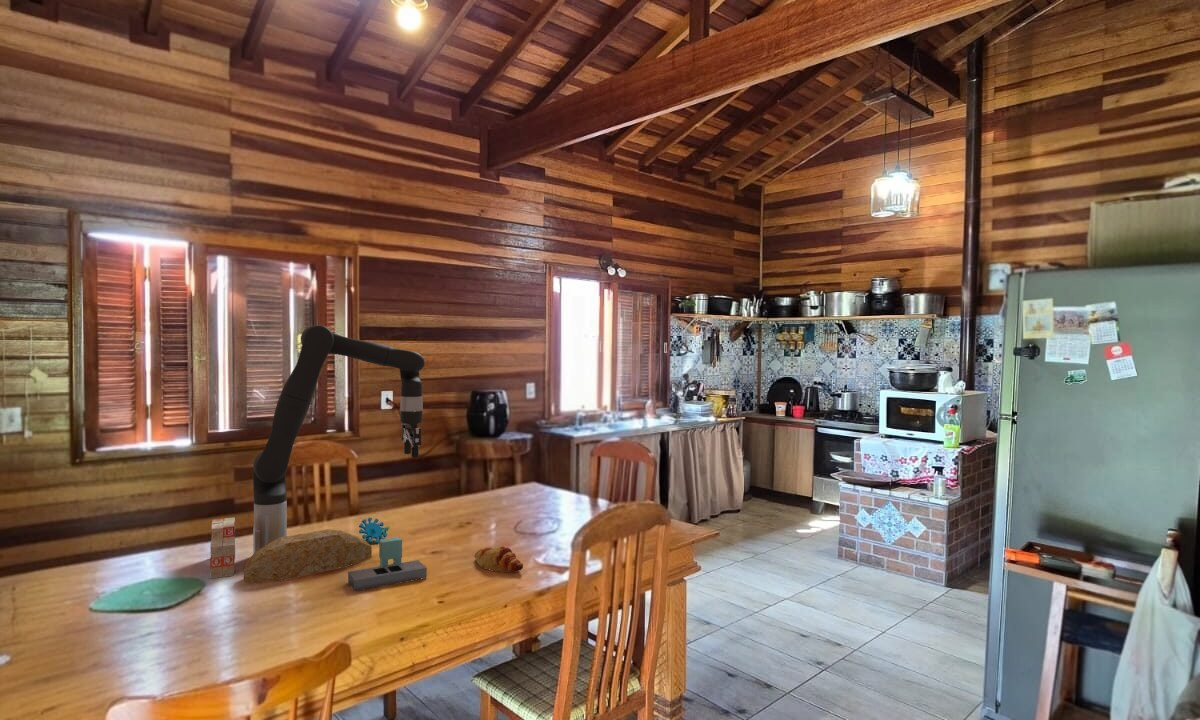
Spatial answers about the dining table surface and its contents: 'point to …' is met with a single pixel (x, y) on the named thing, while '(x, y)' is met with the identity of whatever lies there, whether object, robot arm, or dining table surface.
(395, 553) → the teal block
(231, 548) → the stack of blocks
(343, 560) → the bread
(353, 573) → the rail
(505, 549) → the croissant
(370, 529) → the gear
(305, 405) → the robot arm
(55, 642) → the dining table surface
